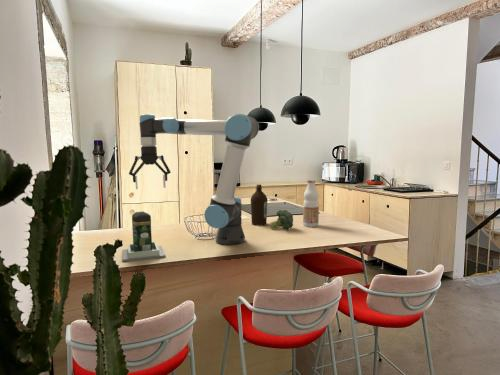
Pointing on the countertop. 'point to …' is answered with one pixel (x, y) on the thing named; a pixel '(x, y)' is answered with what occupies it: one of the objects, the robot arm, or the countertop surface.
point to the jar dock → (142, 253)
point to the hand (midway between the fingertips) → (150, 188)
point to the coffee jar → (141, 231)
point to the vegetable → (283, 220)
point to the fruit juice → (311, 205)
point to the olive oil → (259, 207)
